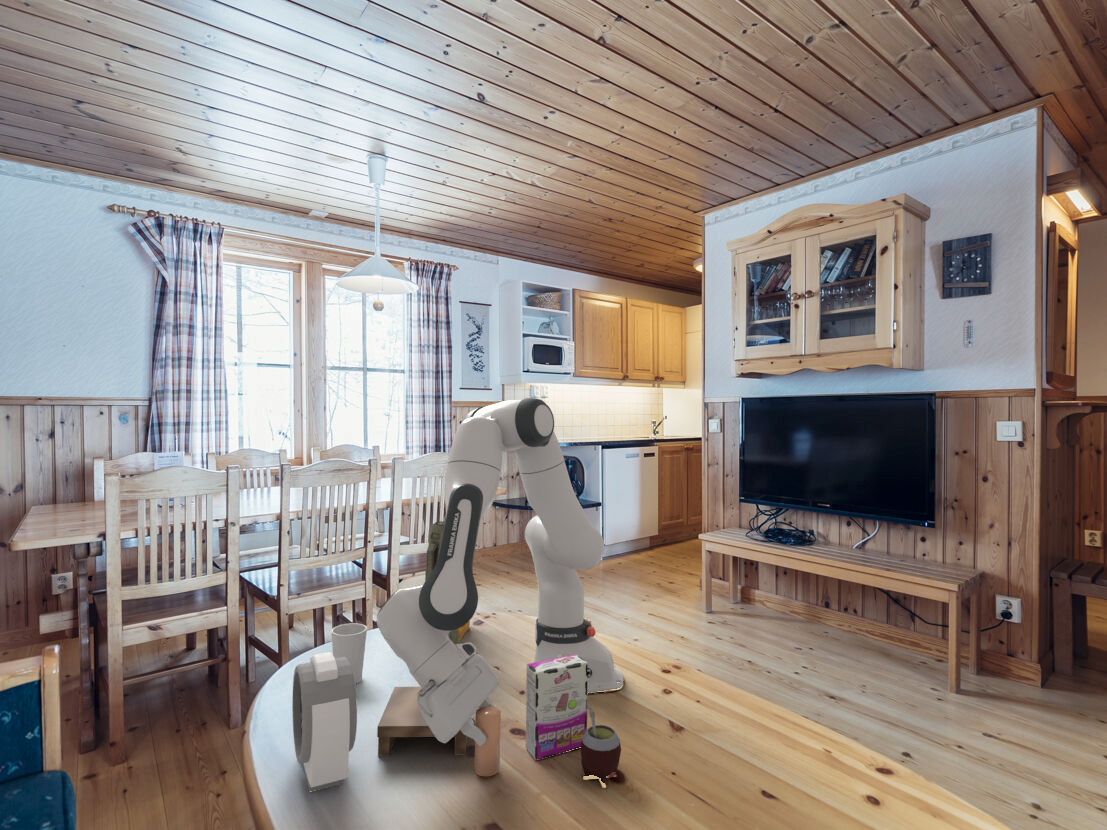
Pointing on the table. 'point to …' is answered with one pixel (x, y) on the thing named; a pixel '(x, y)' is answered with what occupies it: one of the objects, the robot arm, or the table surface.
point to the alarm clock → (324, 718)
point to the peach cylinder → (488, 741)
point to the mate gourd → (599, 750)
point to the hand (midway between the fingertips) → (491, 733)
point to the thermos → (432, 557)
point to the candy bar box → (556, 705)
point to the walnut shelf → (407, 722)
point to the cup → (350, 646)
